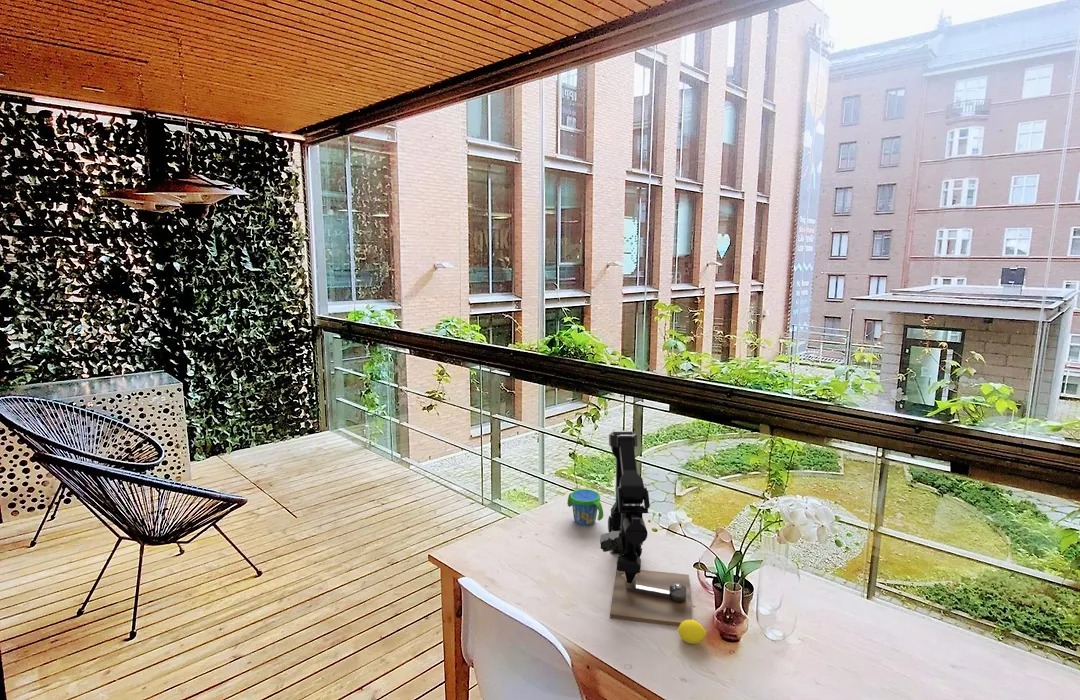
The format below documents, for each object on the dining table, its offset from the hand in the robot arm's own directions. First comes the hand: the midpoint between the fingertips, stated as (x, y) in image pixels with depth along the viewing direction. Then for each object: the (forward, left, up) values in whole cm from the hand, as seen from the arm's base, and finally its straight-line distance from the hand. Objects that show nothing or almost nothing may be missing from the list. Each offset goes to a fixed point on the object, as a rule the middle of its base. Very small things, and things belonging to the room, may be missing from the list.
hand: (629, 579), depth 159 cm
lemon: (+17, +16, -5) cm, 24 cm away
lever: (+1, +7, -3) cm, 8 cm away
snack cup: (-41, -18, -5) cm, 45 cm away
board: (0, +6, -5) cm, 8 cm away
